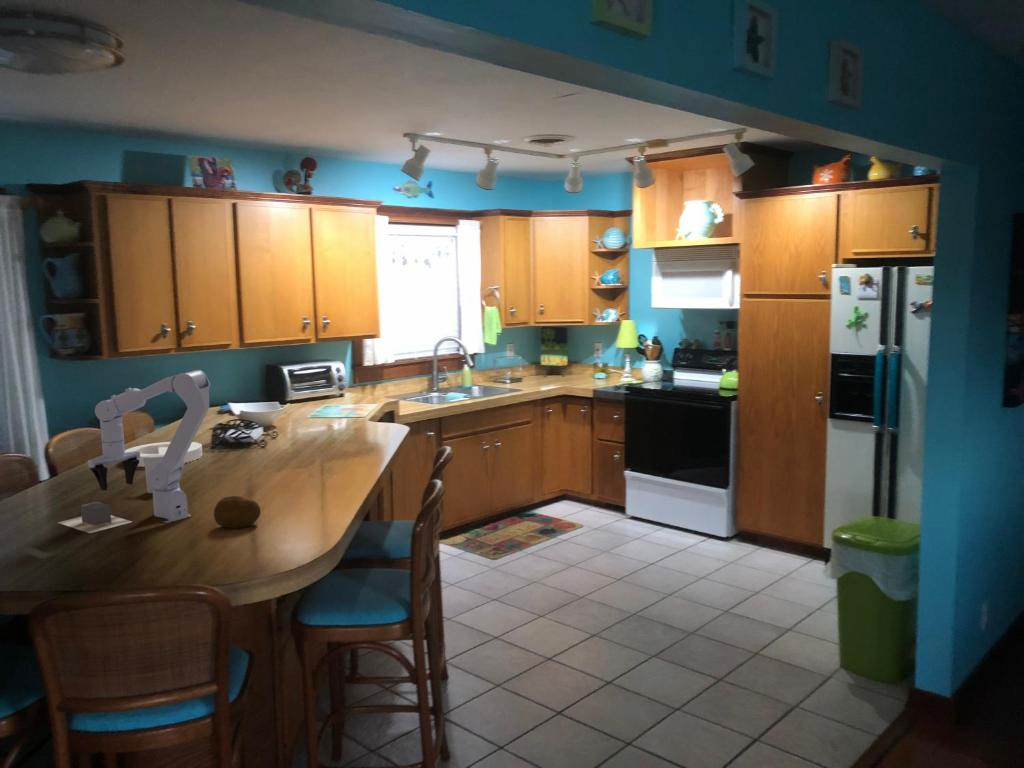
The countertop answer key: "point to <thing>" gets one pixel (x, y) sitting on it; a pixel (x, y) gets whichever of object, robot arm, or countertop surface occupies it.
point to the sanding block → (96, 514)
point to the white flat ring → (161, 448)
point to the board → (87, 528)
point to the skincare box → (150, 466)
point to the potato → (236, 512)
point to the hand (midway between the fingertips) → (116, 486)
